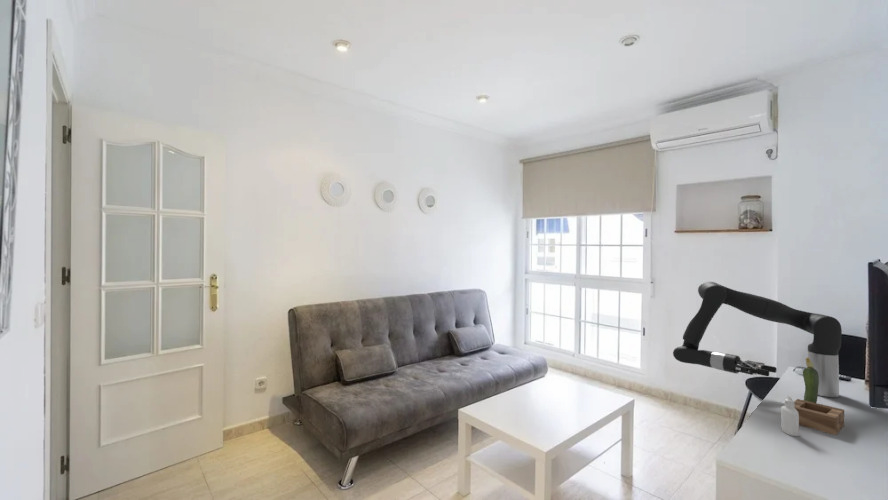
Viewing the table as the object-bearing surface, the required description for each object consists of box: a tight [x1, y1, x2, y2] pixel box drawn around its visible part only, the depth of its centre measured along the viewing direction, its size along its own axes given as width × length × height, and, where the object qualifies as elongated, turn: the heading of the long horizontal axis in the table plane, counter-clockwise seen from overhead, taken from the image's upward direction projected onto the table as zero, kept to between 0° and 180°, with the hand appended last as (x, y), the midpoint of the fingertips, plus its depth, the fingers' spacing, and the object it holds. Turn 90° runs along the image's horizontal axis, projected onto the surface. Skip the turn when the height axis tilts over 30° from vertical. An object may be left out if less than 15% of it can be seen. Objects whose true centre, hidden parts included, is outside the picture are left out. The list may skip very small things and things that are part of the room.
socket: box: [794, 398, 845, 436], centre depth 133 cm, size 12×12×6 cm
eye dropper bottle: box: [780, 395, 800, 437], centre depth 126 cm, size 4×6×12 cm
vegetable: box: [802, 357, 819, 404], centre depth 144 cm, size 4×4×20 cm
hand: (772, 371), depth 153 cm, fingers open, 8 cm apart
